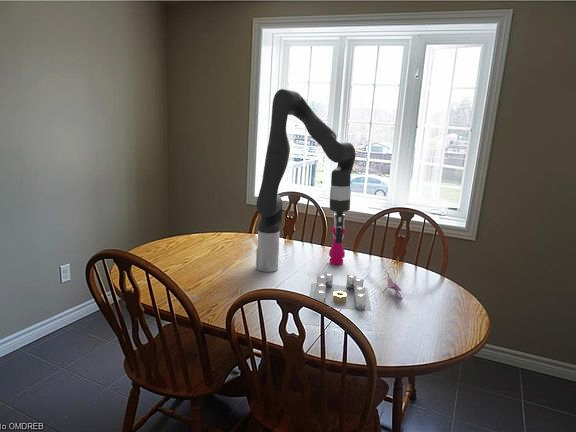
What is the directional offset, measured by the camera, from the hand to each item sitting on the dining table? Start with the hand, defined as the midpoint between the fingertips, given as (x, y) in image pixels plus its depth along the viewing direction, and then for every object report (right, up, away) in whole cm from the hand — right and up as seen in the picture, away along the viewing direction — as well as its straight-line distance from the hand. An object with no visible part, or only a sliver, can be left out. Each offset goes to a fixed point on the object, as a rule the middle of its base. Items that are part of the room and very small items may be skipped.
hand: (338, 239), depth 154 cm
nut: (0, -22, -6) cm, 22 cm away
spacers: (0, -21, -3) cm, 21 cm away
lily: (+21, -22, +3) cm, 30 cm away
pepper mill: (+3, -13, +35) cm, 37 cm away
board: (-1, -23, -8) cm, 25 cm away
